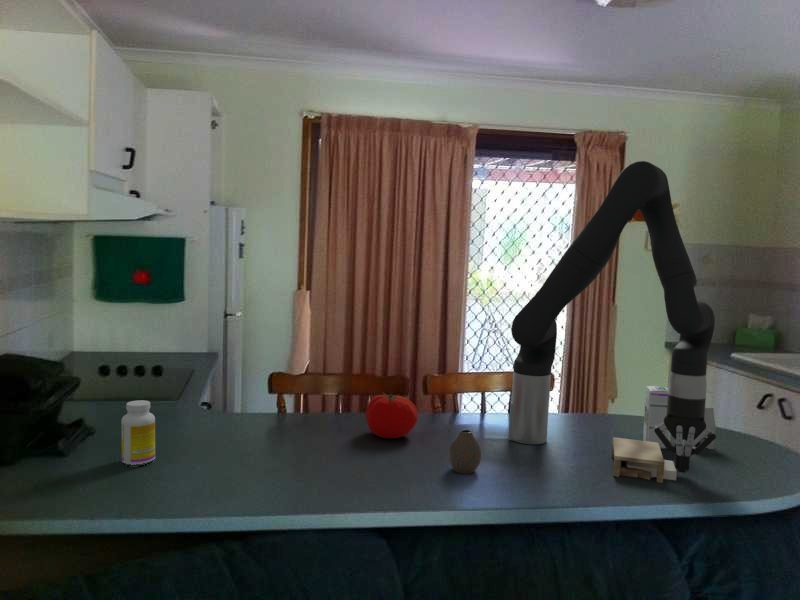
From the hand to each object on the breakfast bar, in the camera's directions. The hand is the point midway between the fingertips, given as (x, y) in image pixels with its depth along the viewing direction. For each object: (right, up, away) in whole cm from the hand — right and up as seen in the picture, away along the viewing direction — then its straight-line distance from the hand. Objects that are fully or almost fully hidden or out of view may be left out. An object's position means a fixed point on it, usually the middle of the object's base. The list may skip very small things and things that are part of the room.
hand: (681, 471), depth 141 cm
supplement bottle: (-117, +3, -4) cm, 117 cm away
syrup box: (+3, +1, +22) cm, 22 cm away
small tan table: (-9, 0, +4) cm, 9 cm away
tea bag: (+13, 0, +22) cm, 26 cm away
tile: (-6, -1, +2) cm, 7 cm away
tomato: (-64, +3, +21) cm, 67 cm away
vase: (-48, 0, -1) cm, 48 cm away
